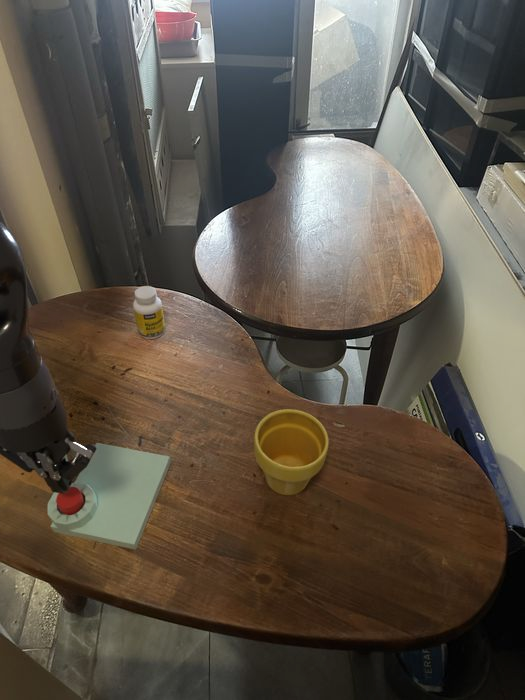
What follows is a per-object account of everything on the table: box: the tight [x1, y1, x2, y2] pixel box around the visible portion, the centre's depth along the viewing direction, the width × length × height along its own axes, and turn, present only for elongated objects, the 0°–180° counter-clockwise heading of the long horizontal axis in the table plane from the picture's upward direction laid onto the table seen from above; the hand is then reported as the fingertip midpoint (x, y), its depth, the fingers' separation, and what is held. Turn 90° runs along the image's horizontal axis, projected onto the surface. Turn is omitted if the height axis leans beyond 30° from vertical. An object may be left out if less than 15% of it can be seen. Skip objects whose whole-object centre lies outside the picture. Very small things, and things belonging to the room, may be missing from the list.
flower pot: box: [253, 408, 330, 496], centre depth 70 cm, size 10×10×10 cm
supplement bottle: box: [132, 285, 166, 340], centre depth 93 cm, size 5×5×10 cm
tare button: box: [56, 487, 84, 515], centre depth 65 cm, size 3×3×2 cm
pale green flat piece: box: [47, 442, 172, 551], centre depth 69 cm, size 13×14×4 cm
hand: (62, 486), depth 62 cm, fingers closed
